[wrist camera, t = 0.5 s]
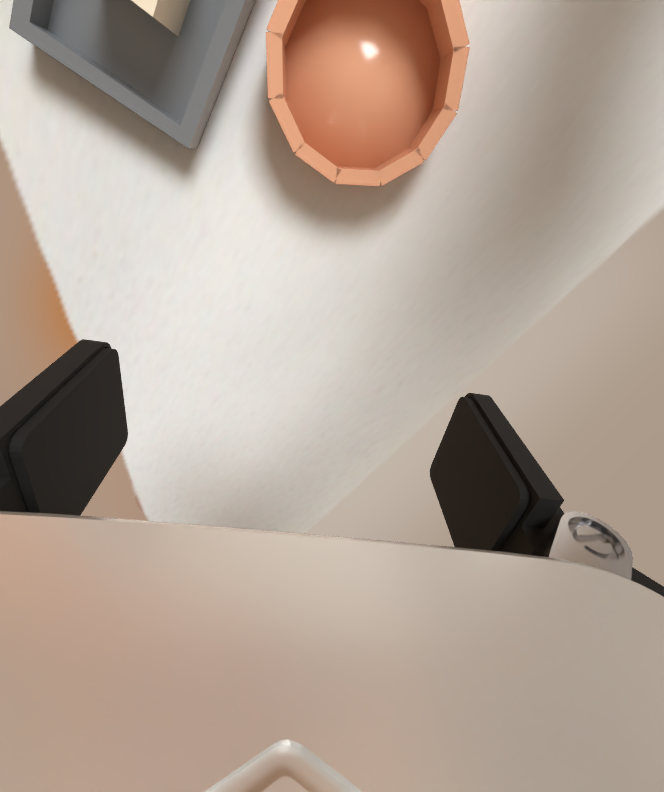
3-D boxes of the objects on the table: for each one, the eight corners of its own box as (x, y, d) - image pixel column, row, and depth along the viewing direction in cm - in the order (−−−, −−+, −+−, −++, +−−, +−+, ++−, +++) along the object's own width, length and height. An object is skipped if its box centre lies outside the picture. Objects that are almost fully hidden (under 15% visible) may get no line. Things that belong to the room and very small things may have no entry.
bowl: (335, -105, 24) (338, -146, 21) (485, 47, 28) (508, 34, 25) (242, 112, 30) (233, 109, 26) (378, 213, 34) (385, 221, 31)
